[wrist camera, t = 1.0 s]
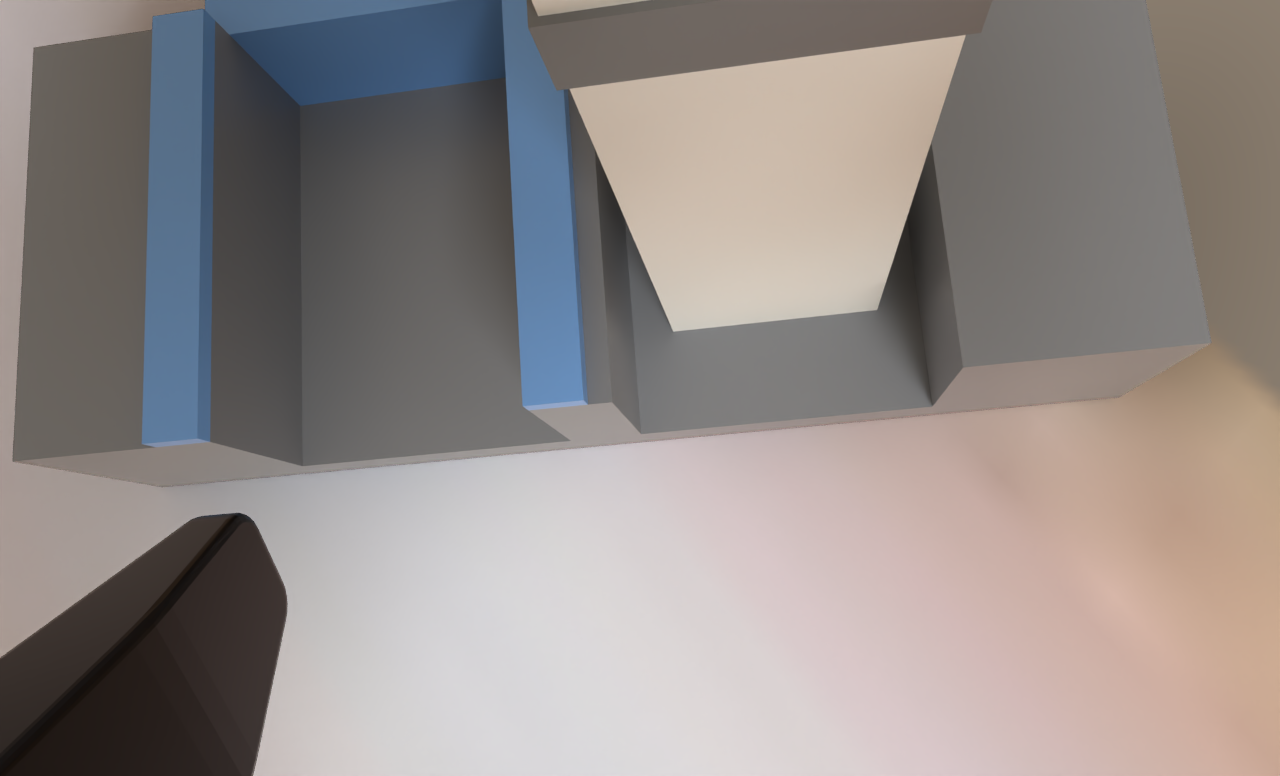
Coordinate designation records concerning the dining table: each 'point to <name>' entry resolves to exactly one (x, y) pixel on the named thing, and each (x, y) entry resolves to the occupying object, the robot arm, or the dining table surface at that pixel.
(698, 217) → the plug
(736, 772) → the dining table surface
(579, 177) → the grey compartment tray
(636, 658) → the dining table surface
